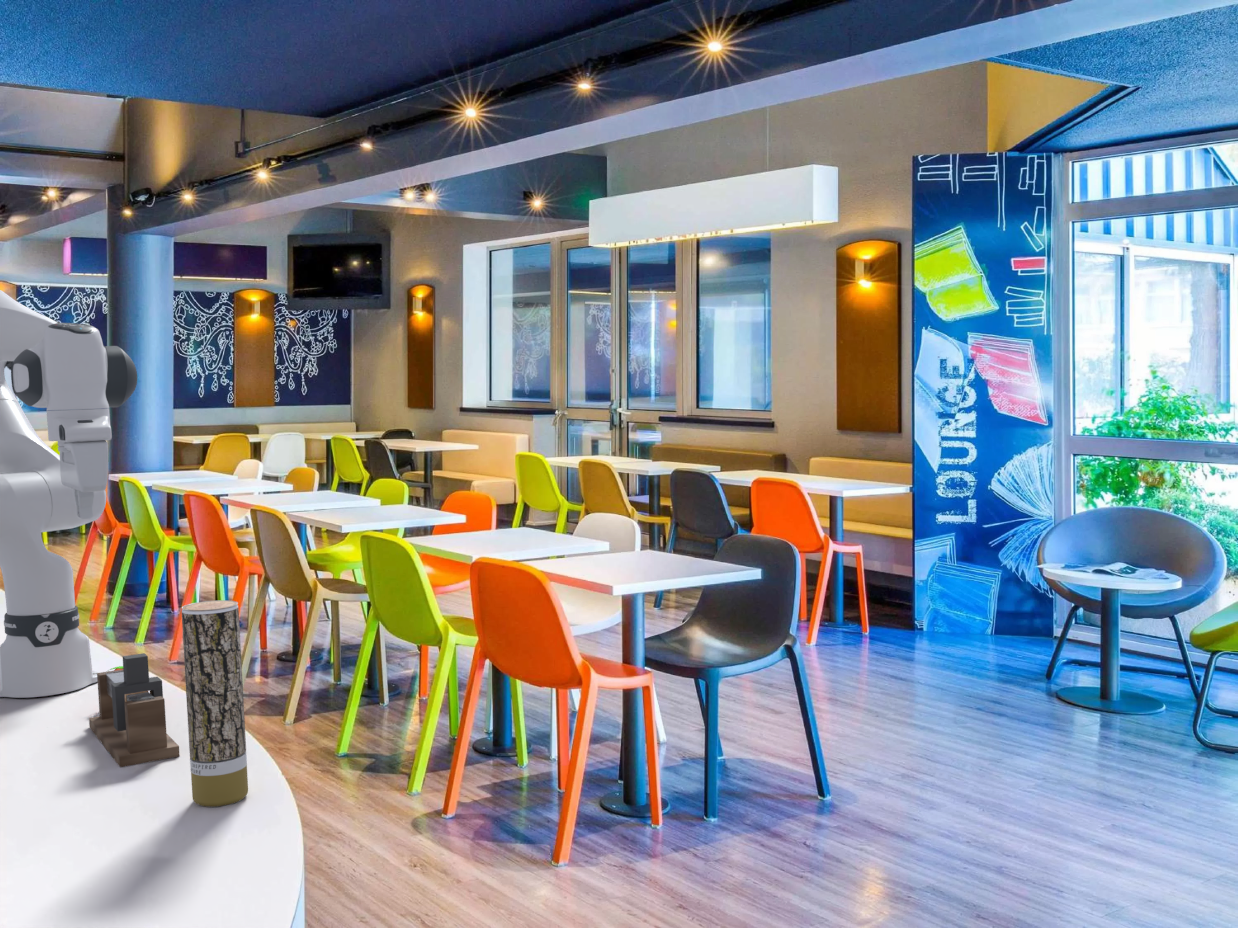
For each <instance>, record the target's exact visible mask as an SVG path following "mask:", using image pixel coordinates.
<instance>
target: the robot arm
mask: <svg viewBox="0 0 1238 928" xmlns="http://www.w3.org/2000/svg"><path fill="white" fill-rule="evenodd" d="M6 368H7V369H8V370H9V371H10V377H11V388H12V390H11V388H10V386H9V384H8V383H7V380H6V378H5V376H6V375H5V369H6ZM137 386H138V371H137V368H136V364H135V363H134V361H133V360H132V358H131V356H129V355H128V353H126V352H125V350H123V349H122V348H121V347H119V346H118V345H106V346H105V345H104V343H103V339H102V336H101V333H100V330H99V329H98V328H96V327H95V326H93V325H90V324H85V323H75V322H60V321H57V320H55V319H52V318H50V317H48V316H46V315H43V314H42V313H40V312H37V311H35V310H33V309H32V308H30V307H28V306H25V305H23V304H22V303H20V302H19V301H17V300H15V299H14V298H13V297H11V296H10V295H8V294H7V293H6V292H4V291H3V290H1V289H0V570H1V575H2V581H3V588H4V597H5V608H6V612H5V614H4V617H3V618H4V619H3V626H4V634H5V635H6V637H5V639H4V641H3V642H2V643H1V644H0V698H3V697H4V698H17V699H18V698H19V699H20V698H22V699H23V698H37V697H48V696H54V695H60V694H64V693H70V692H73V691H76V690H77V691H78V690H81V689H83V688H85V687H87V686H89V685H91V684H96V683H98V680H97V673H99V672H97V671H95V670H93V664H92V655H91V647H90V646H91V645H90V637H89V636H87V635H86V634H85V633H83V632H82V631H81V630H80V629H79V626H80V613H79V607H78V606H77V605H76V600H75V599H76V598H75V597H76V596H75V583H74V581H75V580H74V570H73V567H72V565H71V563H70V562H69V561H68V559H66V558H65V557H64V556H61V555H59V554H57V553H55V552H52V551H49V550H48V549H47V547H46V546H45V544H44V542H43V537H42V533H46V532H55V531H62V530H68V529H69V530H70V529H74V528H78V527H81V526H84V525H86V524H87V525H88V524H89V523H93V522H95V521H97V520H98V519H99V518H100V517H101V516H102V514H103V513H104V510H105V508H106V503H107V492H106V491H107V490H106V489H107V485H108V479H109V477H108V476H109V475H108V474H109V443H108V441H111V440H112V438H113V435H112V432H113V431H112V427H111V414H110V408H119V407H121V406H122V405H123V404H125V403H126V402H127V401H128V400H129V398H131V396H132V395H133V393H134V392H135V390H136V388H137ZM16 397H17V398H18V399H19V400H20V401H21V402H23V404H25V405H26V406H28V407H32V408H33V407H34V408H38V409H46V423H47V424H46V425H47V438H48V439H47V440H48V441H49V442H57V450H58V452H59V454H58V453H57V452H56V451H54V450H53V449H52V448H51V447H50V446H49V445H47V444H46V442H44V441H43V439H41V437H40V436H39V435H38V433H37V432H36V429H34V427H33V425H32V424H31V422H30V420H29V419H28V417H27V416H26V414H25V412H24V410H23V408H22V407H21V405H20V403H19V401H18V400H17V398H16Z"/></svg>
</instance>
